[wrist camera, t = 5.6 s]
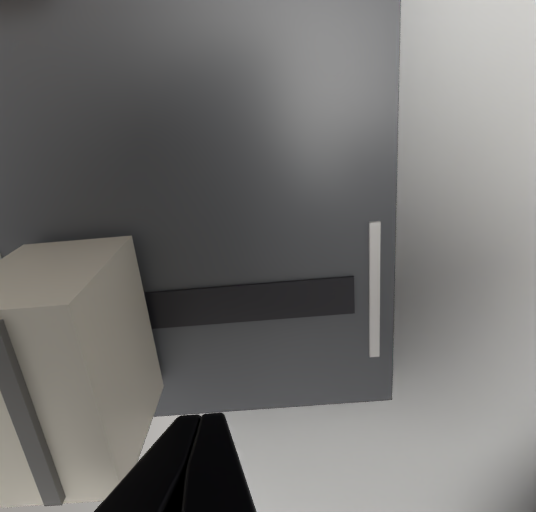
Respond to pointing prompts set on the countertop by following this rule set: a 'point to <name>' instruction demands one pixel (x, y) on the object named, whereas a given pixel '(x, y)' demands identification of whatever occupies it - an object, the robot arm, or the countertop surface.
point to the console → (219, 180)
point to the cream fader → (73, 370)
